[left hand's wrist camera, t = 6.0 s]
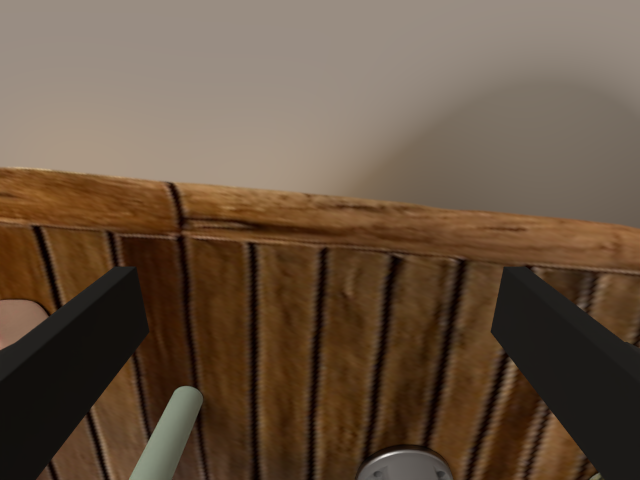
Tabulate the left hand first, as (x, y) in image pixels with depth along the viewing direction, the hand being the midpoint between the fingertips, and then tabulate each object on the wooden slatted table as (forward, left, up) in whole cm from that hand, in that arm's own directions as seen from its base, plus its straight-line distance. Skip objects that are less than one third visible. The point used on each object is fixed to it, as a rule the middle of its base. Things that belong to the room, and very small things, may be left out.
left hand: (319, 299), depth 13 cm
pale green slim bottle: (-32, +19, -28) cm, 47 cm away
